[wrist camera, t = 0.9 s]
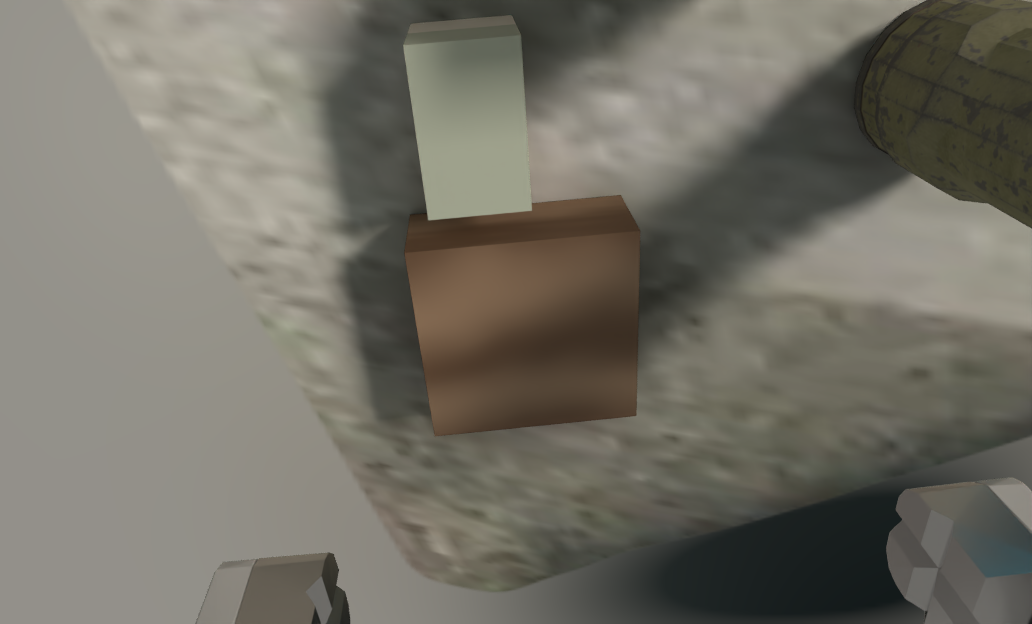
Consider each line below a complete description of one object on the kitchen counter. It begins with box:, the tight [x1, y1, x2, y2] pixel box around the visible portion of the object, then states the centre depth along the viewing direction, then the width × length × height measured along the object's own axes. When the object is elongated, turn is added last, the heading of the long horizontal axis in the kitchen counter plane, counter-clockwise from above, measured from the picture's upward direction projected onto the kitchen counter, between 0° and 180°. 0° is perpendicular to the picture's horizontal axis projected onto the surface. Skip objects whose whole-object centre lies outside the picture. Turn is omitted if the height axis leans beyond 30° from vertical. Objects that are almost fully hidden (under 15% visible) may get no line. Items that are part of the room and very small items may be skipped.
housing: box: [403, 15, 532, 220], centre depth 35 cm, size 8×5×6 cm, turn 4°
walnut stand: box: [404, 195, 640, 436], centre depth 41 cm, size 12×12×5 cm
